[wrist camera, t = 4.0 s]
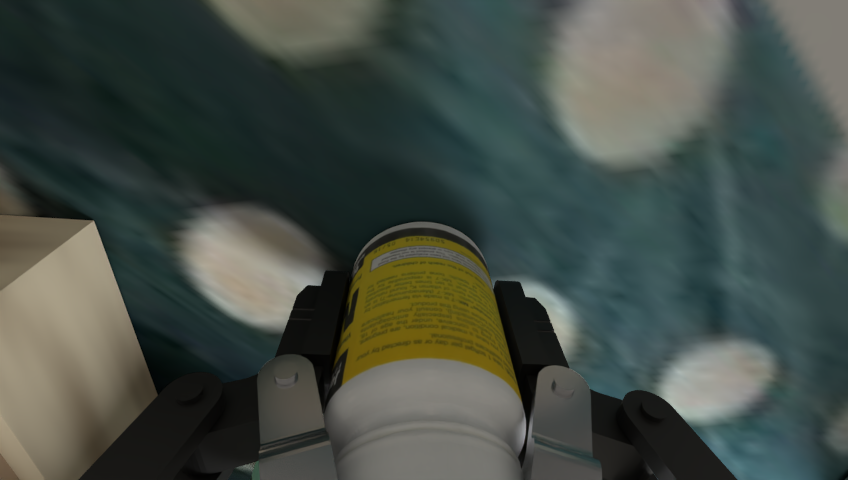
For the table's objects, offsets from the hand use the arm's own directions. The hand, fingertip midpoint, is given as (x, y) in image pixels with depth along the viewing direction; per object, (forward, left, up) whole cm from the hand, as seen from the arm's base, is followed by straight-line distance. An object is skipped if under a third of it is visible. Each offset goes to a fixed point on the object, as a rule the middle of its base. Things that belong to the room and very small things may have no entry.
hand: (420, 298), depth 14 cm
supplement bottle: (0, 0, -1) cm, 1 cm away
